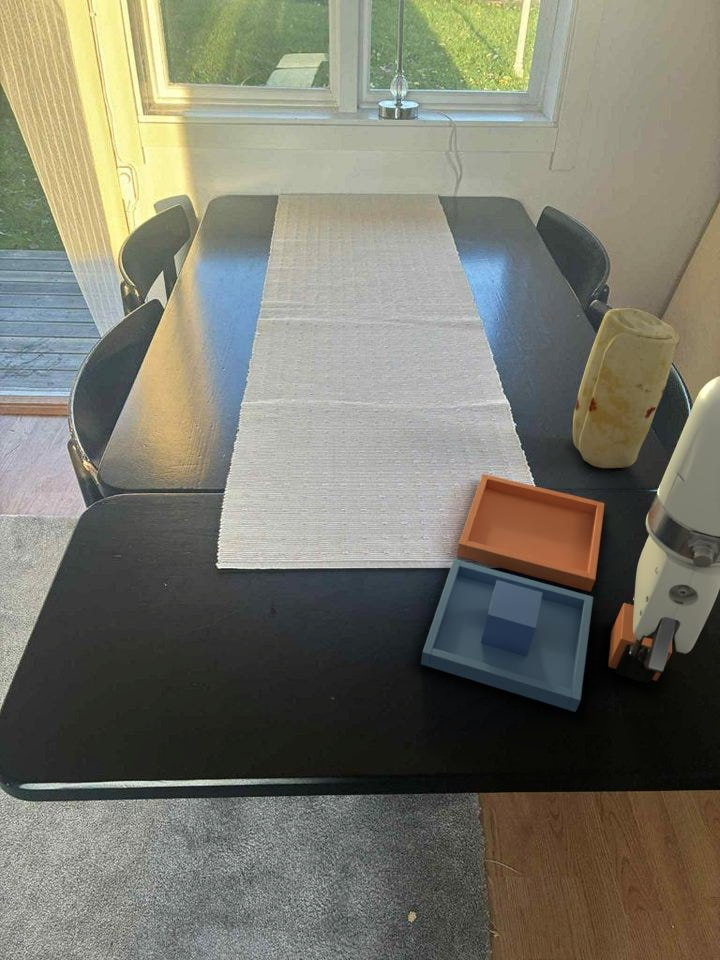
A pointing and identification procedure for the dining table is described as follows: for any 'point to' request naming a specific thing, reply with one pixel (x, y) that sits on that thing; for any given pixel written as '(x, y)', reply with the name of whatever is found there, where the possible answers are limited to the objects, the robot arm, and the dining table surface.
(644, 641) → the terracotta block
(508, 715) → the dining table surface
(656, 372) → the food model
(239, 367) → the dining table surface
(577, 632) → the blue tray
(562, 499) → the terracotta tray
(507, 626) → the blue block
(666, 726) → the dining table surface
